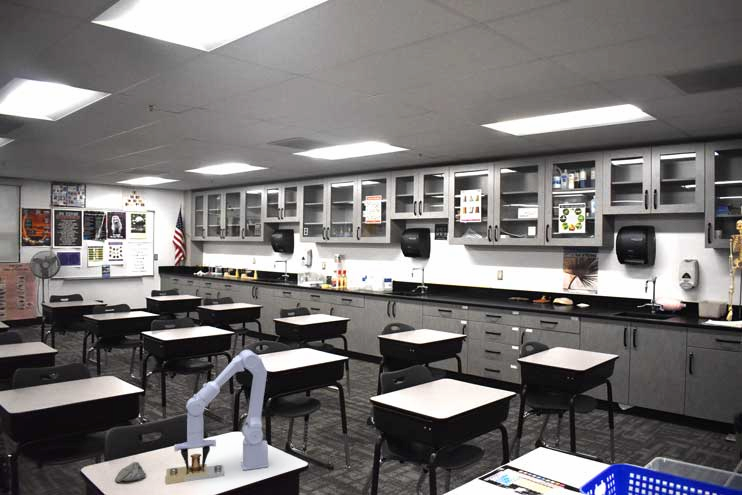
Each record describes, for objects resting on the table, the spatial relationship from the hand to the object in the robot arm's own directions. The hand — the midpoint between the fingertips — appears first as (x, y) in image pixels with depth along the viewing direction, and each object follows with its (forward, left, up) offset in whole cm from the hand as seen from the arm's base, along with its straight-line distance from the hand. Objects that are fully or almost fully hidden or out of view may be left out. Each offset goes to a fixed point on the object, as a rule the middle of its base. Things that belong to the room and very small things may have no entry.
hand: (195, 467), depth 195 cm
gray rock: (+22, -6, -3) cm, 23 cm away
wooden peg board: (0, 0, -3) cm, 3 cm away
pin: (0, 0, -3) cm, 3 cm away
